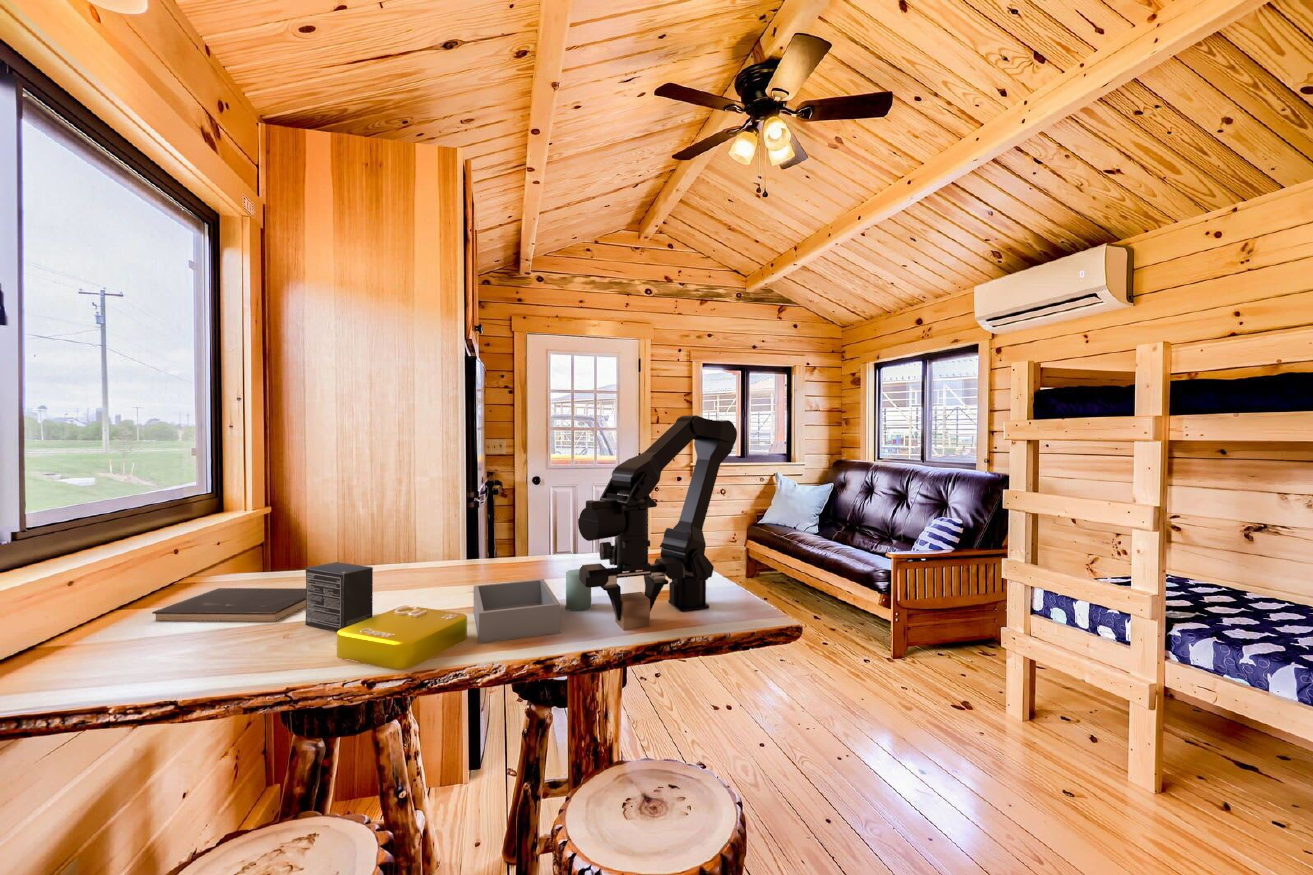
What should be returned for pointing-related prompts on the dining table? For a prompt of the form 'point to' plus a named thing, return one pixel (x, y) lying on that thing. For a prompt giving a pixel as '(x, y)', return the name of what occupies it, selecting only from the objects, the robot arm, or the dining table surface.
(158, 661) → the dining table surface
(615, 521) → the robot arm
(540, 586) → the tote
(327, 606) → the small box
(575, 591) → the teal cylinder
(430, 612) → the element tile
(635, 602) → the walnut cube
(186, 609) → the hardcover book
